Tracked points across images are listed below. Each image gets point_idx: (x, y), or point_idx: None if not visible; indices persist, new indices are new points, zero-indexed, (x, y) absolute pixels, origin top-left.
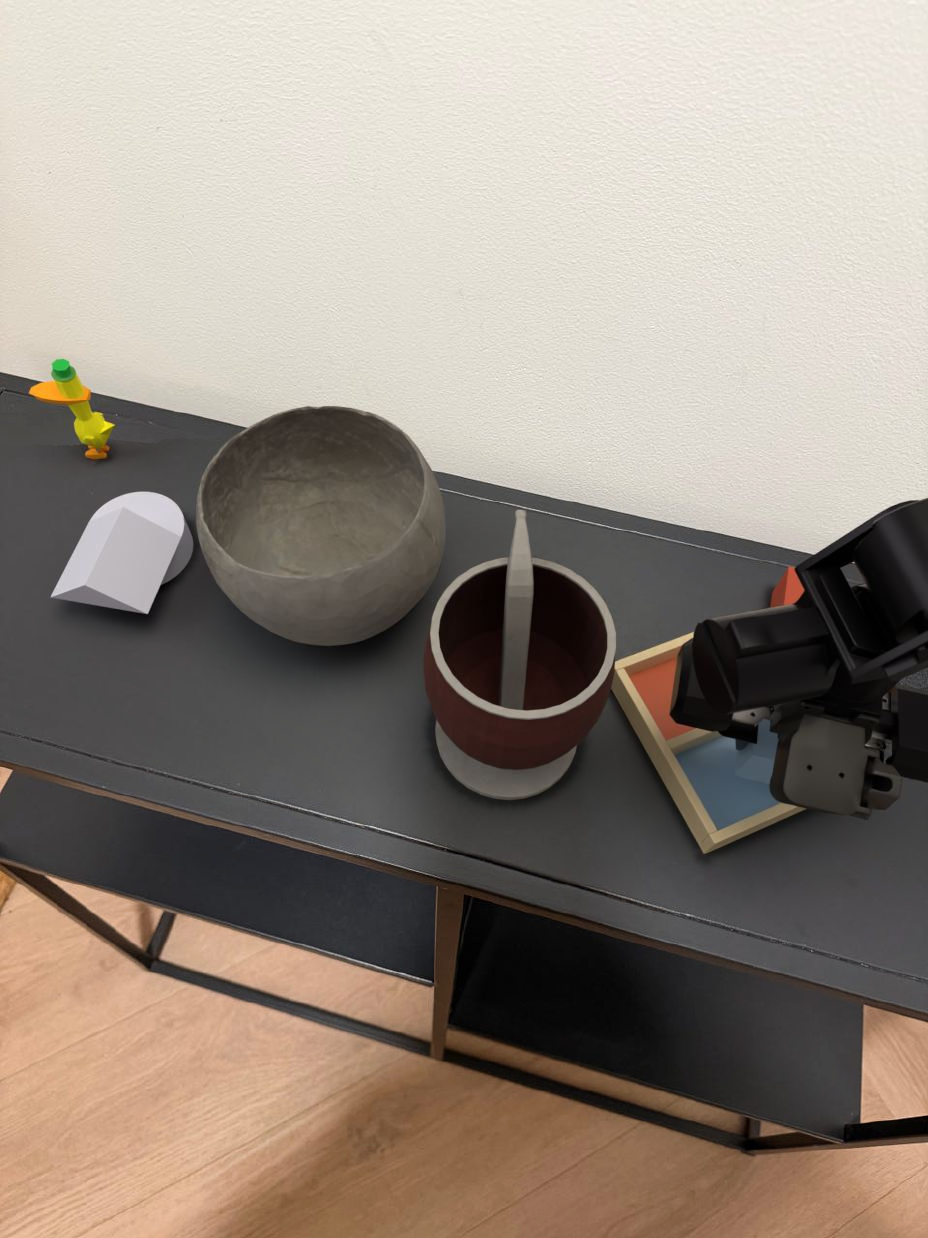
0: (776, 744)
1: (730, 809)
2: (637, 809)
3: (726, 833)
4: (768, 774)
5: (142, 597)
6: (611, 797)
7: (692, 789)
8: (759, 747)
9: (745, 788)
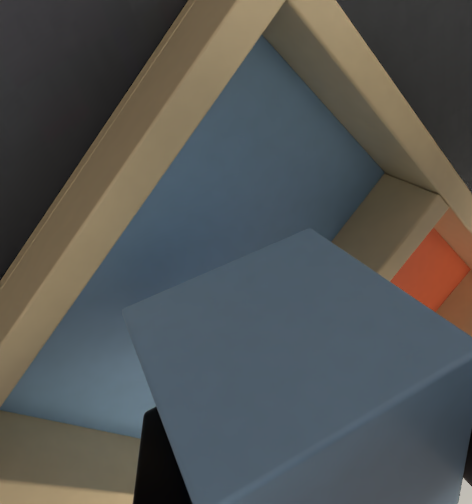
0: (390, 459)
1: (210, 141)
2: (403, 10)
3: (257, 4)
4: (267, 306)
5: None
6: (457, 11)
7: (382, 113)
8: (459, 396)
9: (194, 224)
